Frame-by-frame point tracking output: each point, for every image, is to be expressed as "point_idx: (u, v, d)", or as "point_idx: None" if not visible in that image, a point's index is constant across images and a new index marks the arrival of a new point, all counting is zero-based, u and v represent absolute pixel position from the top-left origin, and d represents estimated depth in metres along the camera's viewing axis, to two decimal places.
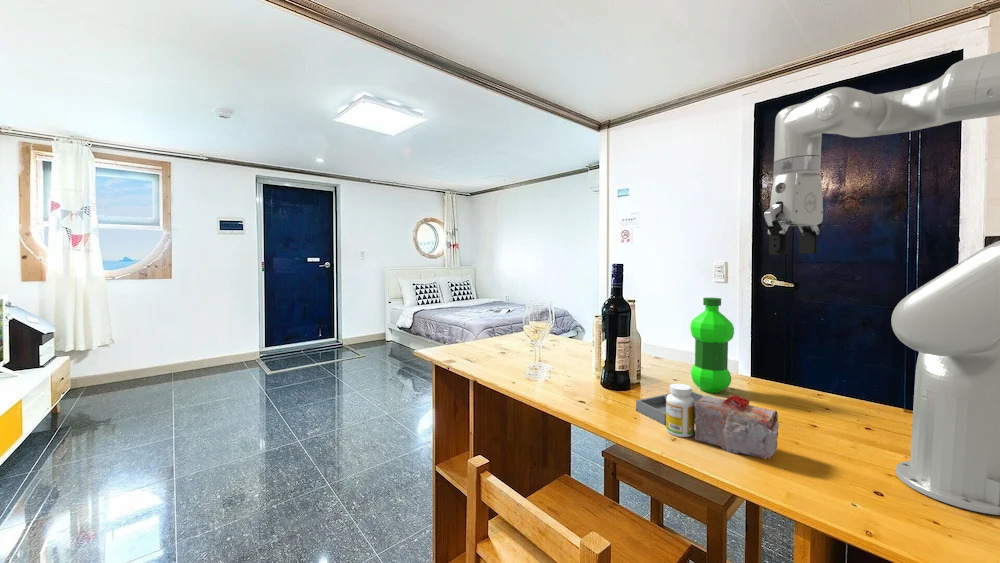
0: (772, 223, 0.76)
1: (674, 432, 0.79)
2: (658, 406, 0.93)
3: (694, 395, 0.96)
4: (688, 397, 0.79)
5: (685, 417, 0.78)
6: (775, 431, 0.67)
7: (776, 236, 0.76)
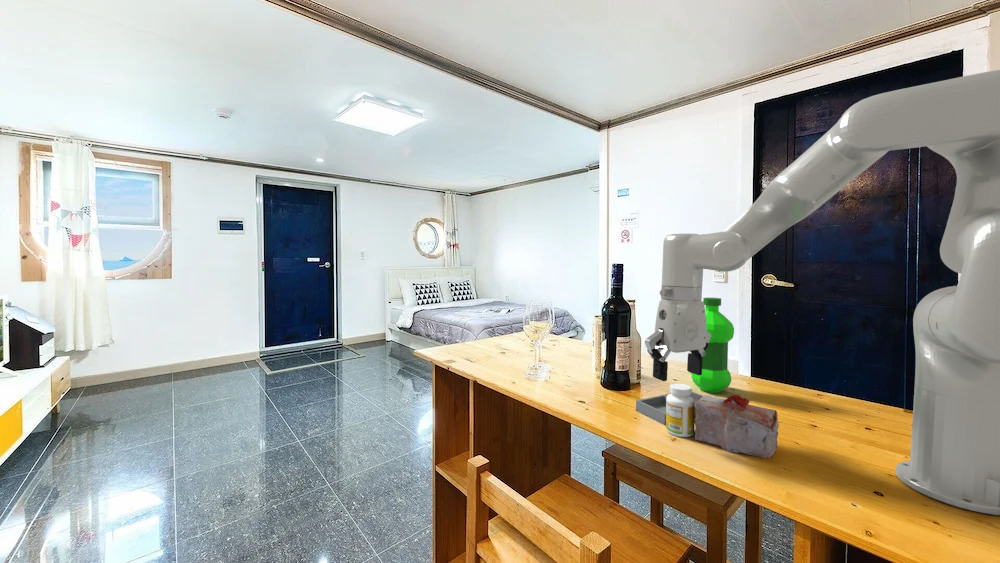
0: (652, 351, 0.76)
1: (674, 432, 0.79)
2: (658, 406, 0.93)
3: (694, 395, 0.96)
4: (688, 397, 0.79)
5: (685, 417, 0.78)
6: (775, 430, 0.67)
7: (657, 362, 0.77)
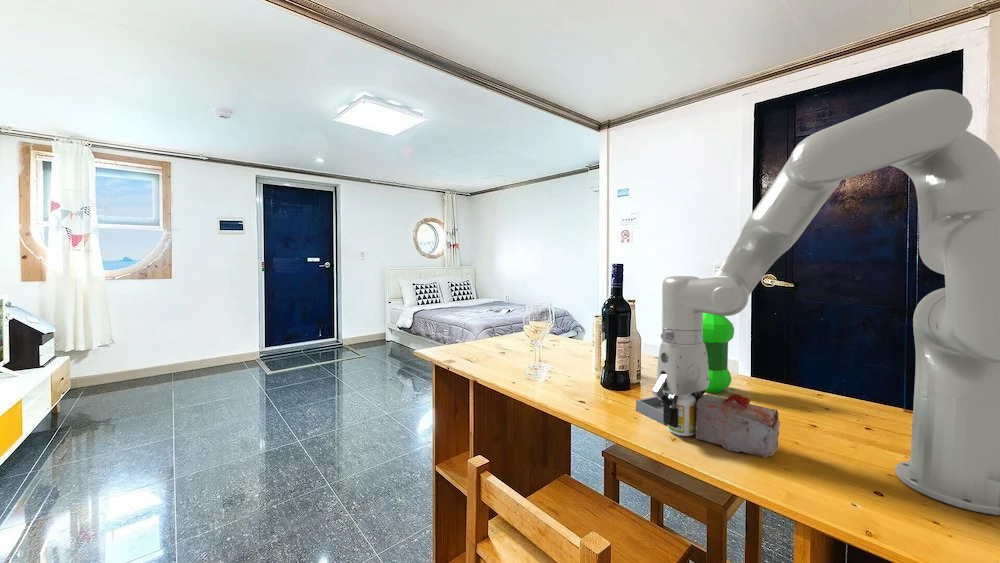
0: (662, 399, 0.77)
1: (675, 431, 0.79)
2: (658, 406, 0.93)
3: None
4: (689, 396, 0.78)
5: (686, 415, 0.77)
6: (776, 430, 0.67)
7: (668, 409, 0.78)
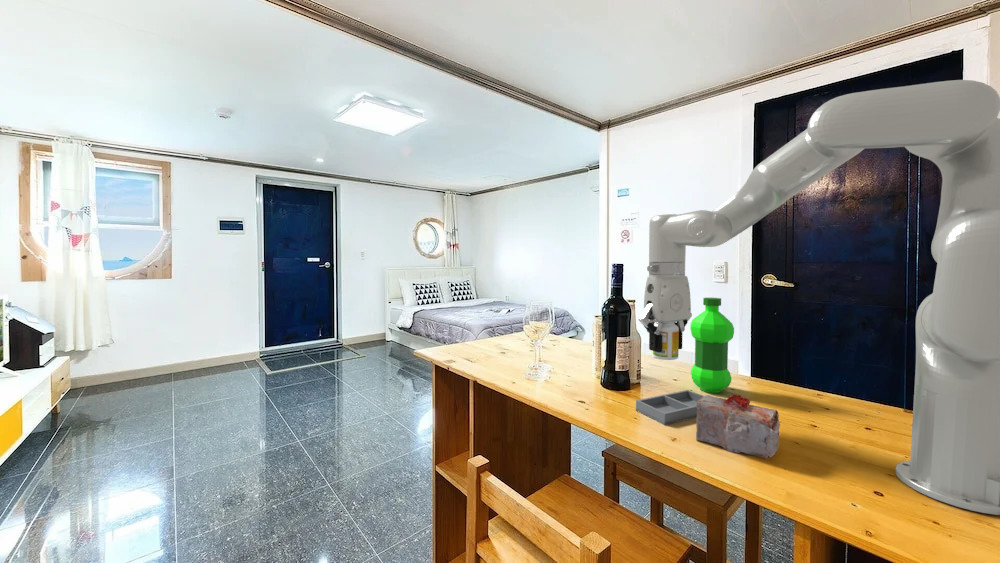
0: (648, 326, 0.85)
1: (660, 356, 0.86)
2: (658, 406, 0.93)
3: (694, 395, 0.96)
4: (673, 324, 0.86)
5: (669, 341, 0.85)
6: (776, 430, 0.68)
7: (653, 335, 0.86)
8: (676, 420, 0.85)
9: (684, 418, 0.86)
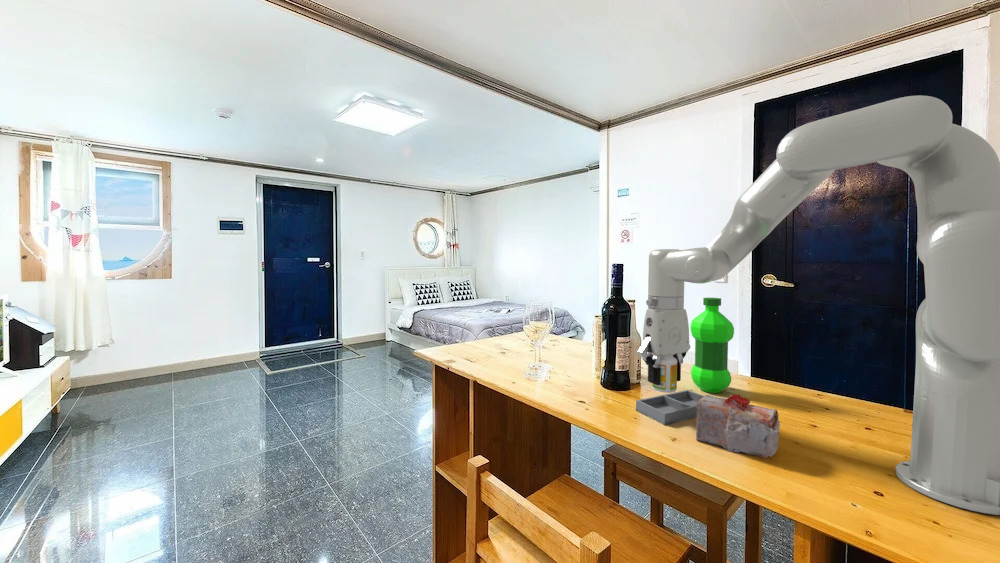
0: (646, 359, 0.86)
1: (658, 388, 0.87)
2: (658, 406, 0.93)
3: (694, 395, 0.96)
4: (671, 357, 0.87)
5: (668, 374, 0.86)
6: (776, 430, 0.68)
7: (651, 368, 0.87)
8: (676, 420, 0.85)
9: (684, 418, 0.86)
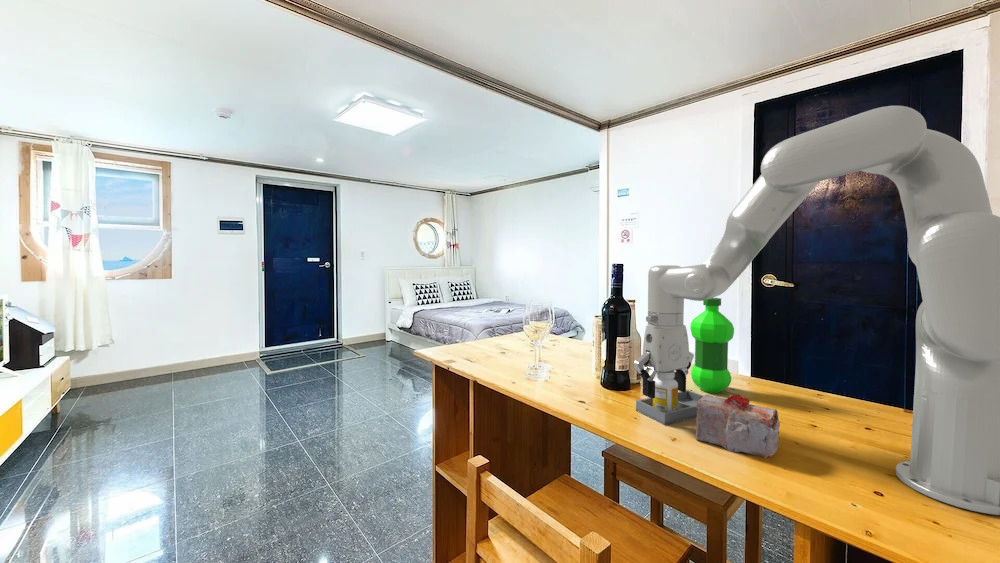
0: (641, 372, 0.85)
1: None
2: None
3: (694, 395, 0.96)
4: (672, 380, 0.87)
5: (669, 397, 0.86)
6: (776, 430, 0.68)
7: (646, 381, 0.86)
8: (676, 420, 0.85)
9: (684, 418, 0.86)
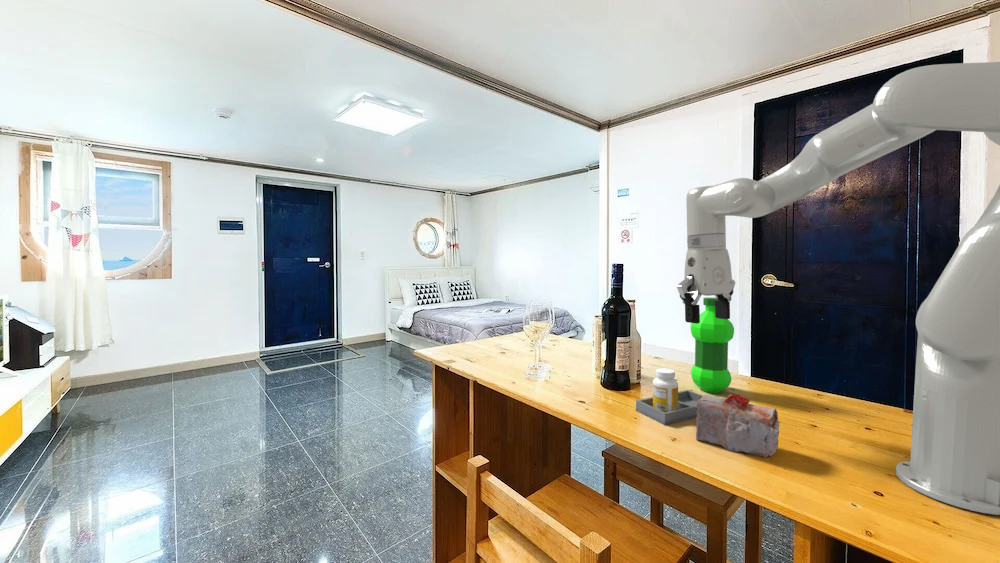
0: (684, 295, 0.82)
1: None
2: None
3: (694, 395, 0.96)
4: (672, 380, 0.87)
5: (669, 397, 0.86)
6: (776, 429, 0.68)
7: (690, 306, 0.83)
8: (676, 420, 0.85)
9: (684, 418, 0.86)
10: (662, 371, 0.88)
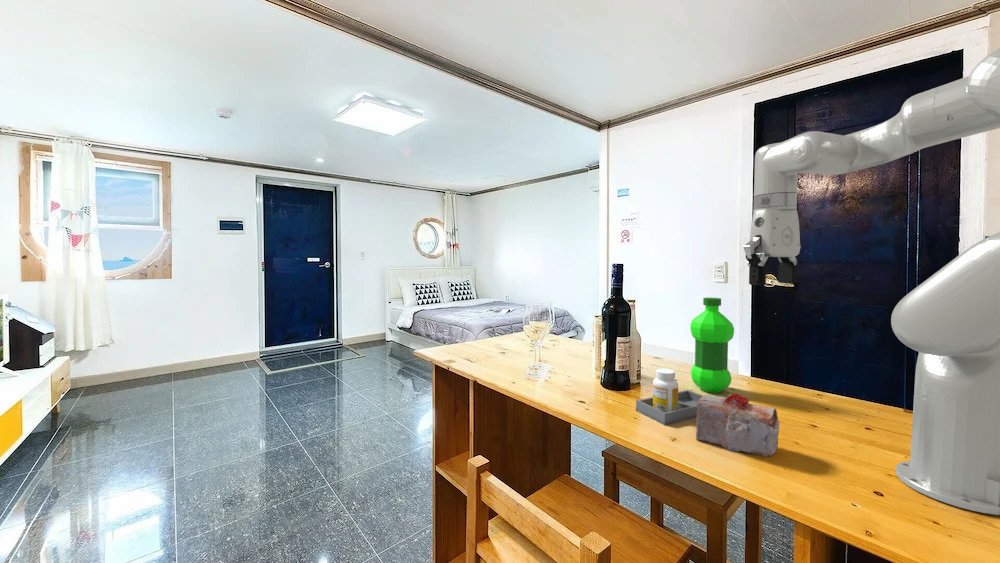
0: (751, 256, 0.80)
1: None
2: None
3: (694, 395, 0.96)
4: (672, 380, 0.87)
5: (669, 397, 0.86)
6: (777, 429, 0.68)
7: (756, 267, 0.81)
8: (676, 420, 0.85)
9: (684, 418, 0.86)
10: (662, 371, 0.88)
